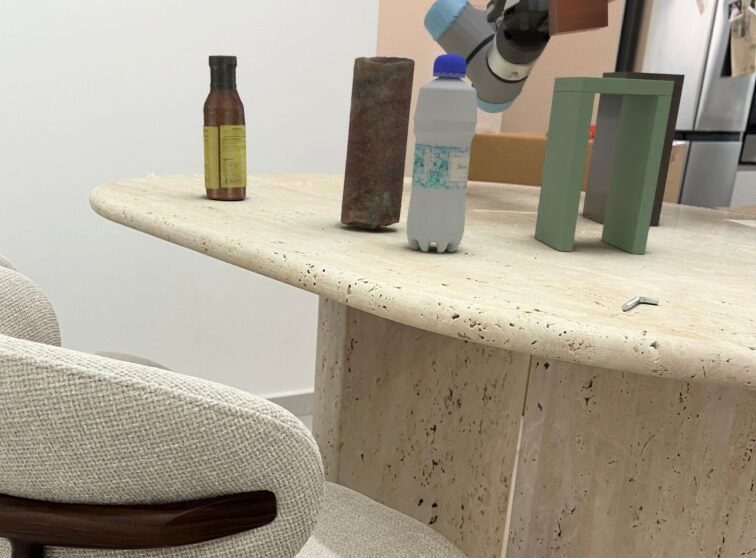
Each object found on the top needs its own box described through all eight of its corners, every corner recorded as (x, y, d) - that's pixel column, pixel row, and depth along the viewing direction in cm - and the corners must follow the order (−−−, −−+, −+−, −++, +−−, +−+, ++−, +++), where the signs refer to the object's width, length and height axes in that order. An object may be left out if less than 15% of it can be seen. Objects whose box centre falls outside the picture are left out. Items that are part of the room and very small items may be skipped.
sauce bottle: (251, 198, 144) (254, 57, 137) (239, 202, 138) (241, 55, 131) (210, 195, 145) (211, 55, 138) (196, 199, 139) (197, 53, 132)
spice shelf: (633, 217, 142) (657, 75, 135) (658, 226, 134) (685, 74, 127) (582, 215, 142) (603, 72, 134) (603, 224, 133) (627, 71, 126)
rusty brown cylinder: (411, 229, 119) (425, 57, 112) (383, 235, 113) (397, 54, 106) (358, 222, 123) (369, 56, 115) (329, 227, 117) (338, 52, 110)
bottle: (448, 256, 100) (469, 52, 93) (392, 249, 103) (407, 51, 96) (473, 250, 105) (494, 56, 98) (418, 242, 109) (435, 54, 101)
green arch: (612, 240, 117) (637, 81, 111) (644, 254, 108) (674, 81, 102) (534, 238, 117) (554, 77, 110) (559, 251, 107) (584, 76, 101)
